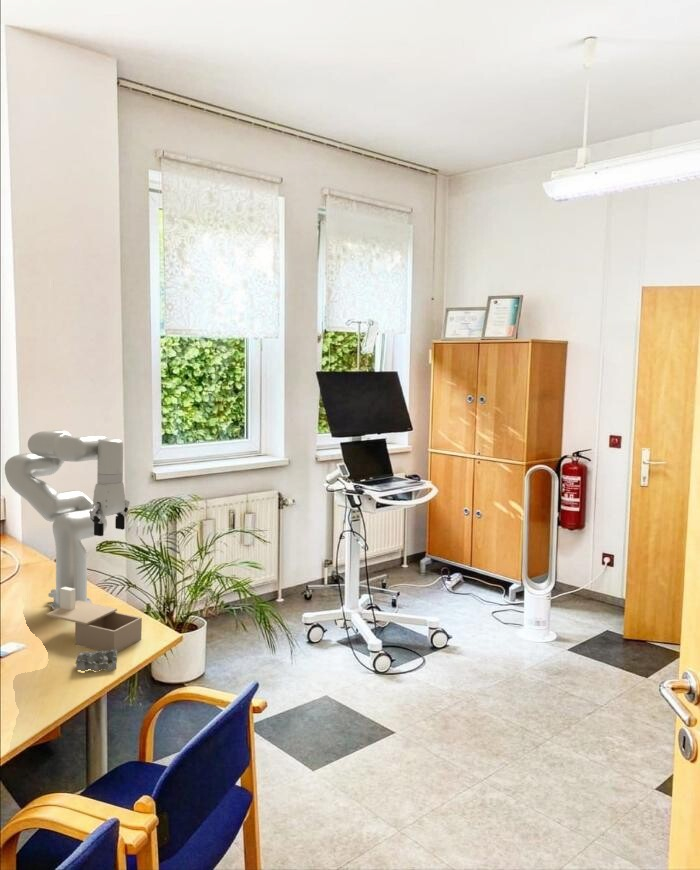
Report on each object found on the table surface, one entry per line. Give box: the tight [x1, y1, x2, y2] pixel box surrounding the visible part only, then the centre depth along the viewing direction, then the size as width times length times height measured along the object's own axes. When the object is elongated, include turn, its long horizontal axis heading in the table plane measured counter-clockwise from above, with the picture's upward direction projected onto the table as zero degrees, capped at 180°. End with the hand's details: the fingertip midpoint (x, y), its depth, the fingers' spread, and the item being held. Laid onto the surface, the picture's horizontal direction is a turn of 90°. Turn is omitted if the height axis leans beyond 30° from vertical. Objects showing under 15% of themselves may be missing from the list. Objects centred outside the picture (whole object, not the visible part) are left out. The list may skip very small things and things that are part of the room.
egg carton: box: [74, 649, 118, 672], centre depth 192 cm, size 11×8×4 cm
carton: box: [74, 611, 143, 653], centre depth 208 cm, size 14×12×7 cm
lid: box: [45, 587, 118, 625], centre depth 211 cm, size 15×13×7 cm
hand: (109, 532), depth 223 cm, fingers open, 9 cm apart
